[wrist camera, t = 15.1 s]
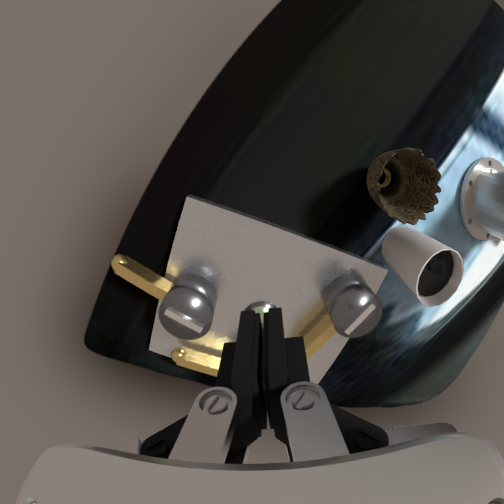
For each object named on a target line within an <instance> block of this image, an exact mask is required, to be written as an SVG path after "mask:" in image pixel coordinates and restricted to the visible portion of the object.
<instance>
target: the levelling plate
mask: <svg viewBox="0 0 504 504" xmlns="http://www.w3.org/2000/svg"><path fill="white" fill-rule="evenodd" d="M388 271H389V270H388V269H387V268H386V267H385V266H383V265H381V264H378V263H376V262H373V261H371V260H368V259H366V258H363V257H361V256H358V255H356V254H353V253H351V252H348V251H345V250H343V249H340V248H338V247H335V246H333V245H330V244H327V243H325V242H322V241H320V240H317V239H314V238H312V237H309V236H306V235H304V234H301V233H298V232H296V231H293V230H290V229H287V228H285V227H282V226H279V225H276V224H274V223H271V222H268V221H265V220H263V219H260V218H257V217H254V216H251V215H249V214H246V213H243V212H240V211H237V210H234V209H231V208H229V207H226V206H223V205H220V204H217V203H214V202H211V201H208V200H205V199H202V198H199V197H196V196H193V195H190V194H189V195H188V196H187V197H186V201H185V204H184V207H183V211H182V214H181V217H180V221H179V224H178V228H177V231H176V235H175V239H174V242H173V246H172V250H171V254H170V257H169V261H168V265H167V269H166V273H165V277H164V278H165V279H167V280H169V281H170V282H172V283H173V281H174V280H175V279H176V278H178V277H179V276H181V275H185V274H196V275H200V276H202V277H204V278H206V279H207V280H208V281H209V282H210V283H211V284H212V285H213V286H214V288H215V290H216V294H217V301H216V306H215V311H214V315H213V320H212V325H211V328H210V330H209V331H208V333H207V334H206V335H204V336H203V337H201V338H198V339H194V340H184V339H180V338H177V337H175V336H173V335H171V334H170V333H169V332H167V331H166V330H165V329H164V327H163V326H162V324H161V322H160V320H159V316H158V310H159V307H160V305H161V303H162V301H161V300H159V303H158V307H157V312H156V317H155V321H154V326H153V331H152V336H151V341H150V346H149V350H150V351H153V352H156V353H159V354H161V355H164V356H167V357H170V358H171V352H172V350H173V349H174V348H176V347H182V346H183V347H186V348H189V349H192V350H196V351H199V352H202V353H205V354H209V355H212V356H215V357H219V358H221V355H222V350H223V345H224V343H227V342H236V340H237V333H238V327H239V320H240V314H241V311H247V310H255V313H260V317H261V324H262V331H263V316H264V312H268V309H269V308H279V307H282V317H283V327H284V337H285V338H290V337H299V336H303V337H304V336H305V335H306V334H307V333H309V332H310V331H311V330H312V329H313V328H314V327H315V326H316V325H317V324H318V323H319V322H320V321H321V320H322V318H323V317H324V316H325V315H326V314H327V313H328V311H327V309H326V307H325V304H324V293H325V290H326V288H327V286H328V285H329V284H330V283H331V282H332V281H333V280H334V279H335V278H337V277H339V276H341V275H344V274H355V275H358V276H360V277H362V278H363V279H364V280H365V282H366V283H367V284H368V286H369V287H370V288H371V290H372V291H373V292H374V294H375V295H376V293H377V291H378V289H379V288H380V286H381V284H382V282H383V280H384V278H385V276H386V275H387V273H388ZM348 340H349V338H347V337H343V336H341V335H340V334H338V333H337V332H336V333H335V334H334V335H333V336H332V337H331V338H330V339H329V340H328V341H327V342H326V343H325V344H324V345H323V346H322V347H321V348H320V349H319V350H317V351H316V352H315V353H314V354H313V355H312V356H311V357H310V358H309V359H308V360H307V364H308V370H309V377H310V382H313V383H315V384H318V383H319V382H320V380H321V379H322V378H323V376H324V375H325V374H326V372H327V371H328V369H329V368H330V366H331V365H332V364H333V362H334V361H335V359H336V358H337V356H338V355H339V353H340V352H341V350H342V349H343V347H344V346H345V344H346V343H347V341H348Z"/></svg>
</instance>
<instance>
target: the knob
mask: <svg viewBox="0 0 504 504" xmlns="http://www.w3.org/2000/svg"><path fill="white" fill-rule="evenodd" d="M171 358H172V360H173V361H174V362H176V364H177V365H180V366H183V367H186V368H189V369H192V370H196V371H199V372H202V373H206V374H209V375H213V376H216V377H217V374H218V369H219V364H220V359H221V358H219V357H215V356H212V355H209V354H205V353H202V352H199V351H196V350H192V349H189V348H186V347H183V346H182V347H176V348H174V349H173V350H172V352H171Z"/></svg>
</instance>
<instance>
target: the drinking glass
mask: <svg viewBox="0 0 504 504" xmlns="http://www.w3.org/2000/svg"><path fill="white" fill-rule="evenodd" d="M382 255H383V258H384V260H385V261H386V262H387V263H388V264H389V265H390V266H391V267H392V269H393V270H394V271H395V272H396V273H397V274H398V275H399V277H400V278H401V279H402V280H403V281H404V282H405V283H406V285H407V286H408V287H409V288H410V289H411V291H412V292H413V293H414V294H415V295H416V296H417V298H418V299H419V300H420V301H421V303H422V304H423V305H426V306H430V307H432V306H437V305H440V304H442V303H444V302H445V301H447V300H448V299H449V298H450V297H451V296H452V295H453V294H454V293H455V292H456V290H457V288H458V286H459V284H460V282H461V280H462V275H463V271H464V268H463V259H462V258H461V256H460V254H459V252H457V251H455V250H453V249H452V248H450V247H448V246H446V245H444V244H442V243H440V242H438V241H437V240H435V239H433V238H431V237H429V236H427V235H425V234H423V233H421V232H419V231H417V230H415V229H413V228H411V227H409V226H407V225H398V226H396V227H395V228H393V229H391V230H390V231H389V232H388V233H387V235H386V236H385V238H384V241H383V243H382Z"/></svg>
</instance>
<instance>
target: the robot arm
mask: <svg viewBox="0 0 504 504" xmlns="http://www.w3.org/2000/svg"><path fill="white" fill-rule="evenodd" d="M460 212H461V217H462V221H463V224H464V226H465V228H466V230H467V231H468V232H469V233H470V234H471V235H472V236H473V237H475V238H477V239H480V240H488V239H491V238H492V237H494V236H495V237H497V238H499V239H501V240H503V241H504V167H503V165H502V164H501V163H500V162H499V161H497V160H495V159H493V158H488V157H484V158H480V159H478V160H476V161H475V162H474V163H473V164H472V165H471V166H470V168H469V169H468V171H467V173H466V175H465V177H464V180H463V183H462V187H461V194H460ZM267 412H268V417H269V423H270V428H271V429H274V431H275V437H276V438H277V439H279V440H280V441H281V442H283V443H285V444H286V449H287V454H288V458H289V462H287V463H269V464H247V461H248V457H249V453H250V449H251V445H250V444H251V443H252V442H254V441H255V440H256V439H257V438H258V437H261V429H266V428H267ZM15 504H504V461H503V459H502V457H501V455H500V454H499V452H498V451H497V449H496V448H495V446H494V445H493V444H492V443H491V442H490V441H489V440H488V439H487V438H486V437H484V436H483V435H480V434H477V433H470V432H457V431H456V429H455V427H453V426H452V425H451V424H449V423H444V422H442V423H441V422H439V423H432V424H424V425H415V426H404V427H393V428H392V430H383V429H382V428H380V427H378V426H376V425H374V424H372V423H370V422H367V421H365V420H363V419H361V418H359V417H357V416H355V415H353V414H351V413H349V412H347V411H345V410H343V409H341V408H339V407H337V406H335V405H333V404H331V403H329V402H328V399H327V397H326V394H325V392H324V390H323V389H322V387H320V386H319V385H318V384H315V383H313V382H310V377H309V370H308V364H307V357H306V351H305V345H304V339H303V336H299V337H290V338H285V337H284V327H283V317H282V307H279V308H269V309H268V312H264V316H263V331H262V324H261V317H260V313H255V310H247V311H241V314H240V320H239V327H238V333H237V340H236V342H227V343H224V345H223V350H222V355H221V359H220V364H219V369H218V374H217V379H216V384H215V387H212V388H209V389H206V390H204V391H203V392H201V393H200V394H199V395H198V397H197V398H196V400H195V402H194V404H193V406H192V408H191V410H190V412H189V414H188V415H187V416H185V417H183V418H182V419H180V420H178V421H177V422H175V423H173V424H171V425H170V426H168V427H166V428H165V429H163V430H161V431H159V432H157V433H156V434H154V435H152V436H150V437H149V438H147V439H146V440H145V441H140V440H139V439H119V440H117V439H116V440H115V439H114V440H113V439H111V440H110V439H97V440H92V441H90V442H88V443H87V444H86V445H83V444H67V445H59V446H55V447H51V448H49V449H47V450H46V451H45V452H44V453H43V454H42V455H41V456H40V457H39V459H38V460H37V461H36V463H35V464H34V466H33V468H32V469H31V471H30V473H29V474H28V477H27V478H26V481H25V482H24V484H23V486H22V488H21V490H20V493H19V495H18V497H17V500H16V502H15Z"/></svg>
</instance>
